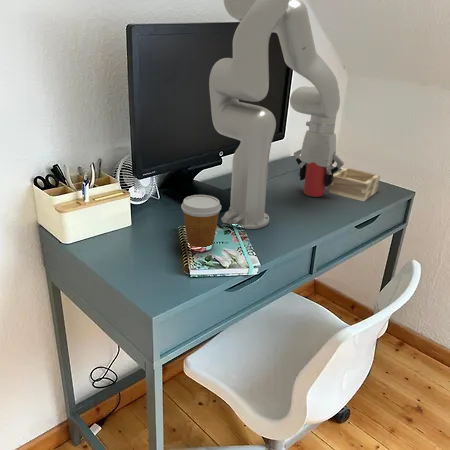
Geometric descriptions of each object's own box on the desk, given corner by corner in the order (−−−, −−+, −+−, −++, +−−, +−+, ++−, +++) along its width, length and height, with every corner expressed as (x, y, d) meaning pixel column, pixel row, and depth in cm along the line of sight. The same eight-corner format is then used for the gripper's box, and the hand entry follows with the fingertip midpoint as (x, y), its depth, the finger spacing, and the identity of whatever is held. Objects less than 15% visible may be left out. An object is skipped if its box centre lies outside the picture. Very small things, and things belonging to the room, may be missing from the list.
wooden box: (363, 202, 156) (366, 184, 154) (328, 193, 162) (331, 175, 160) (376, 192, 165) (380, 175, 163) (343, 184, 171) (345, 167, 169)
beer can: (325, 198, 157) (330, 161, 152) (304, 197, 157) (309, 160, 152) (322, 191, 163) (326, 155, 158) (302, 190, 163) (306, 154, 158)
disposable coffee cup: (194, 234, 128) (195, 191, 123) (226, 244, 124) (228, 199, 119) (173, 248, 121) (173, 202, 116) (206, 259, 117) (207, 212, 112)
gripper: (290, 125, 153) (285, 179, 160) (343, 135, 144) (335, 192, 151) (302, 121, 158) (296, 173, 166) (353, 130, 149) (345, 185, 157)
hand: (315, 182), depth 158 cm, fingers open, 8 cm apart
